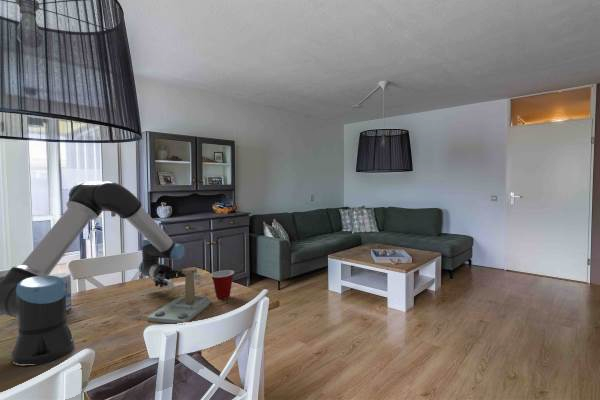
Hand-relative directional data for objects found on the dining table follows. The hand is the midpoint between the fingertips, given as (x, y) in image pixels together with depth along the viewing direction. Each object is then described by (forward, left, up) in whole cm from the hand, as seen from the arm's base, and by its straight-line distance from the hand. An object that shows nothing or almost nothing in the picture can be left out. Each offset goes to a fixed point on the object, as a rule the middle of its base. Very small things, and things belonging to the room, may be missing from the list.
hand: (187, 281), depth 137 cm
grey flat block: (-6, -1, -11) cm, 12 cm away
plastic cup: (+12, -11, -11) cm, 20 cm away
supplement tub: (-16, +50, -11) cm, 54 cm away
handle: (-1, -2, -9) cm, 10 cm away
